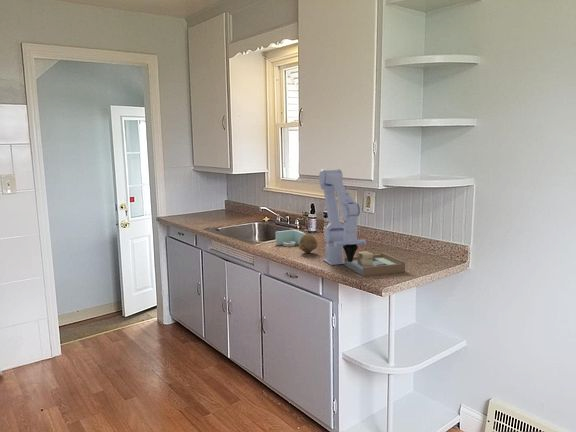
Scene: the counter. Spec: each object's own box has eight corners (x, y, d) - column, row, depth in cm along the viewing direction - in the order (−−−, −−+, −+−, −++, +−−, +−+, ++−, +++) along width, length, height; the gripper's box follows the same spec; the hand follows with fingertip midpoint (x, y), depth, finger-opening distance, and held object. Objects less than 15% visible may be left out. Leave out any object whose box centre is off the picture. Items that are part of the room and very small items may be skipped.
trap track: (344, 265, 216) (344, 255, 216) (382, 261, 223) (382, 252, 222) (363, 276, 199) (364, 265, 198) (404, 271, 205) (405, 261, 204)
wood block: (357, 263, 210) (357, 252, 210) (367, 262, 212) (367, 251, 211) (362, 265, 206) (362, 254, 205) (372, 264, 207) (373, 253, 207)
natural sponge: (320, 252, 241) (320, 233, 239) (311, 256, 234) (311, 236, 232) (305, 250, 246) (305, 231, 244) (296, 253, 239) (296, 234, 237)
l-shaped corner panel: (275, 245, 260) (275, 231, 258) (294, 242, 265) (294, 229, 264) (286, 249, 249) (286, 235, 248) (305, 246, 255) (305, 233, 254)
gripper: (339, 233, 198) (338, 265, 200) (369, 231, 203) (369, 262, 205) (332, 230, 205) (331, 261, 207) (362, 228, 209) (361, 258, 211)
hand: (349, 261), depth 206 cm, fingers closed
